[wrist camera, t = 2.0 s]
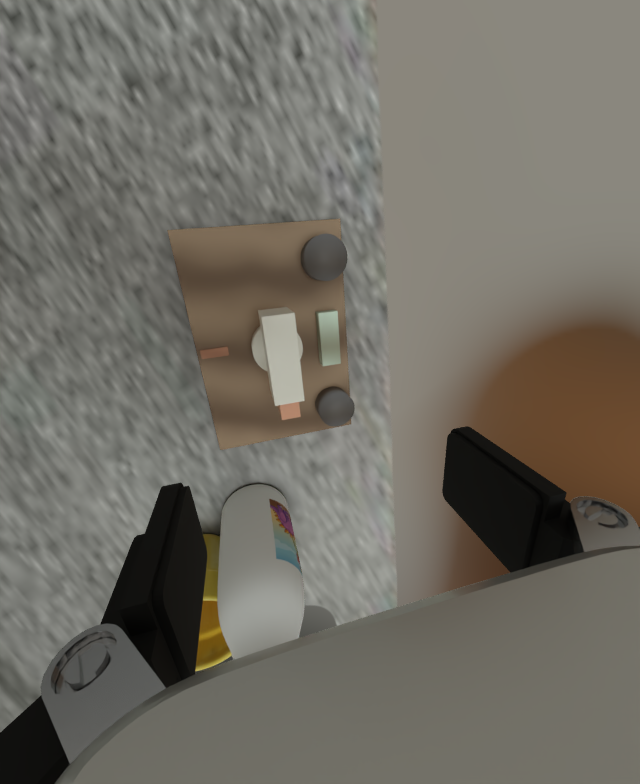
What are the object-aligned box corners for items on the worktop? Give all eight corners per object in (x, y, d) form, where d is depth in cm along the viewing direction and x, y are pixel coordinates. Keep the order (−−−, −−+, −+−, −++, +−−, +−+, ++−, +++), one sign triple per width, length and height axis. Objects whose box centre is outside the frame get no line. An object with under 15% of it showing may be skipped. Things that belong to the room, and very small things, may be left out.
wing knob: (245, 308, 28) (247, 318, 22) (294, 303, 28) (308, 311, 23) (260, 398, 31) (265, 426, 25) (304, 391, 32) (318, 416, 26)
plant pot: (260, 561, 41) (267, 641, 32) (186, 597, 40) (172, 690, 32) (223, 506, 37) (220, 581, 28) (139, 546, 36) (107, 636, 27)
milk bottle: (221, 536, 38) (207, 776, 20) (222, 483, 36) (207, 703, 18) (284, 531, 40) (323, 743, 22) (289, 480, 38) (338, 673, 20)
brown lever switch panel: (172, 232, 26) (161, 227, 23) (333, 221, 29) (347, 215, 25) (221, 440, 34) (219, 460, 30) (345, 416, 37) (357, 432, 33)
